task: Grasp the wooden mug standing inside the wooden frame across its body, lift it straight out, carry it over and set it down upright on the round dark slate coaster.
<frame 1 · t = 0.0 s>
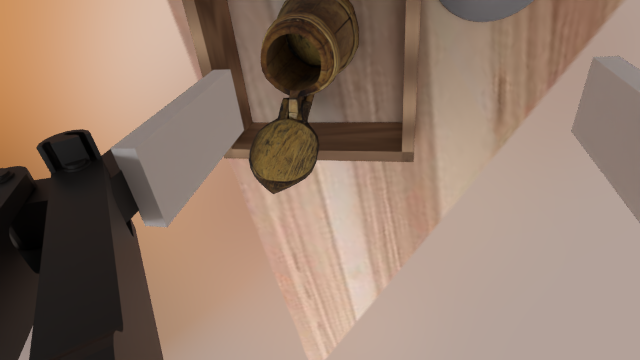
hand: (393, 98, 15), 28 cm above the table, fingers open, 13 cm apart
wooden frame: (317, 52, 42), on the table
wooden mug: (318, 52, 43), resting in wooden frame
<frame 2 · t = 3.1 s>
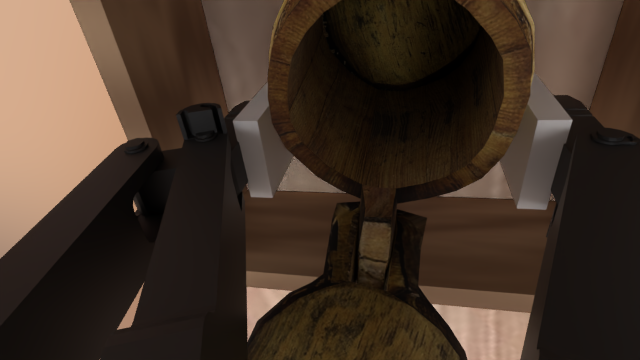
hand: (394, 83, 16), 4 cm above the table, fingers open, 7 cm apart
wooden frame: (392, 57, 19), on the table
wooden mug: (392, 55, 19), resting in wooden frame, touching gripper
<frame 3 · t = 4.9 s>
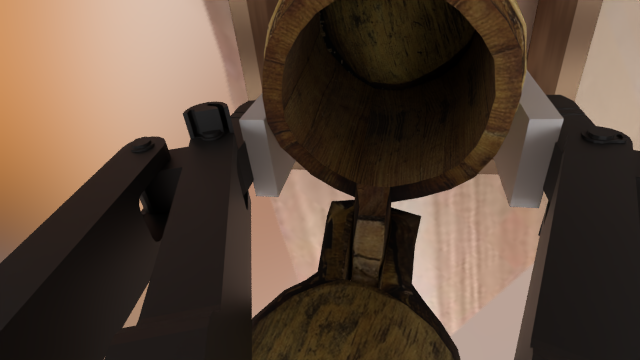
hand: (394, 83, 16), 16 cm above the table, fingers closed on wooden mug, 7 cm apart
wooden frame: (401, 16, 29), on the table
wooden mug: (389, 55, 19), point 12 cm above the table, touching gripper
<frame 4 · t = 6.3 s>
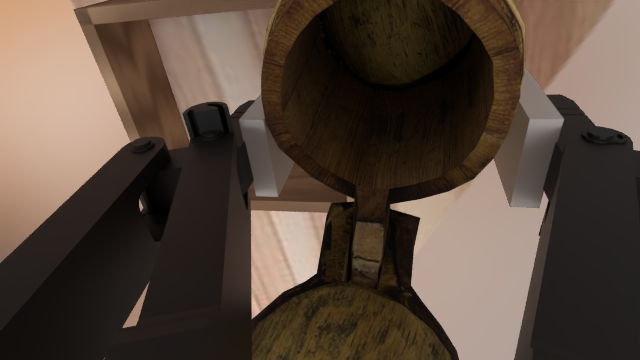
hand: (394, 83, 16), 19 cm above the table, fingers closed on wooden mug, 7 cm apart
wooden frame: (256, 90, 38), on the table
wooden mug: (388, 55, 19), point 15 cm above the table, touching gripper
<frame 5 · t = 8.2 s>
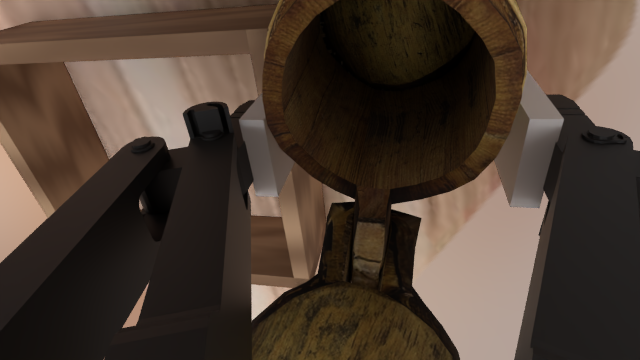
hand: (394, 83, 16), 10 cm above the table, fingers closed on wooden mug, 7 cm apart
wooden frame: (193, 135, 32), on the table
wooden mug: (389, 55, 19), point 6 cm above the table, touching gripper
when the fingers open (6 cm above the table, at t = 9.4 s): wooden mug drops 1 cm, resting on coaster.
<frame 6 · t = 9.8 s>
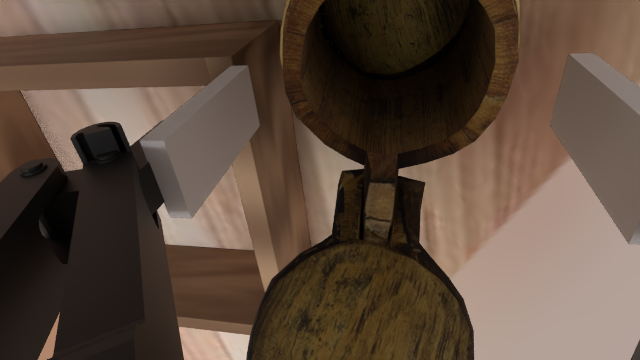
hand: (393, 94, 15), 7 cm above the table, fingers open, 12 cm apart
wooden frame: (163, 164, 29), on the table
wooden mug: (382, 47, 20), point 1 cm above the table, touching coaster
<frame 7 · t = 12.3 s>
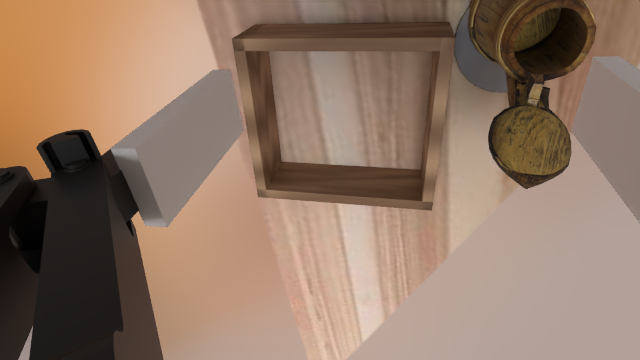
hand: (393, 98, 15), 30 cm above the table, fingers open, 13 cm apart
wooden frame: (348, 106, 47), on the table
coaster: (510, 38, 40), on the table
wooden mug: (506, 38, 39), point 1 cm above the table, touching coaster
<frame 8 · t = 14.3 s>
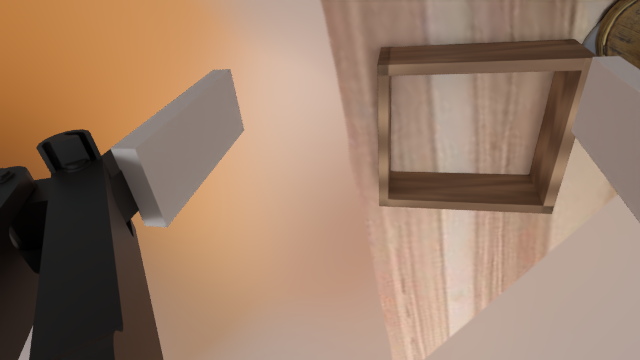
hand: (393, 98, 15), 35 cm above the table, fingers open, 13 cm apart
wooden frame: (464, 119, 50), on the table
wooden mug: (631, 52, 42), point 1 cm above the table, touching coaster
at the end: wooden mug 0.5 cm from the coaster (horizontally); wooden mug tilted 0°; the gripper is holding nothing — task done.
